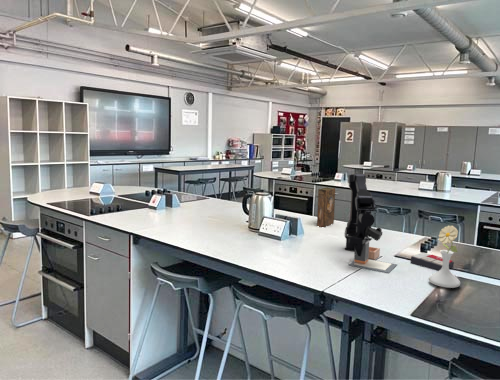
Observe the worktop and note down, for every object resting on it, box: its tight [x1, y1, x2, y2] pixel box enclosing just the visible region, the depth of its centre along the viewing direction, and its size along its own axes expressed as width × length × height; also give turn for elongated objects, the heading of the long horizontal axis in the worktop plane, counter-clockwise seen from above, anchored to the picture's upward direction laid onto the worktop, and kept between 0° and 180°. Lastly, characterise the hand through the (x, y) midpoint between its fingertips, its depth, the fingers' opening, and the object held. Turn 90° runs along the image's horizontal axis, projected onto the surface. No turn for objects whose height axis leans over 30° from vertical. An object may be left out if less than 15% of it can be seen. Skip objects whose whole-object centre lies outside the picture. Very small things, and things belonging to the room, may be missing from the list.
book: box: [316, 187, 336, 228], centre depth 258 cm, size 16×6×25 cm, turn 144°
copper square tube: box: [368, 246, 381, 260], centre depth 188 cm, size 8×8×4 cm
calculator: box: [410, 252, 455, 272], centre depth 177 cm, size 11×4×15 cm
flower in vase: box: [428, 225, 461, 289], centre depth 150 cm, size 13×11×25 cm
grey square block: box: [353, 239, 370, 264], centre depth 176 cm, size 5×5×10 cm
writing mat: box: [348, 259, 398, 274], centre depth 175 cm, size 18×14×1 cm
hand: (361, 254), depth 176 cm, fingers closed on grey square block, 5 cm apart
